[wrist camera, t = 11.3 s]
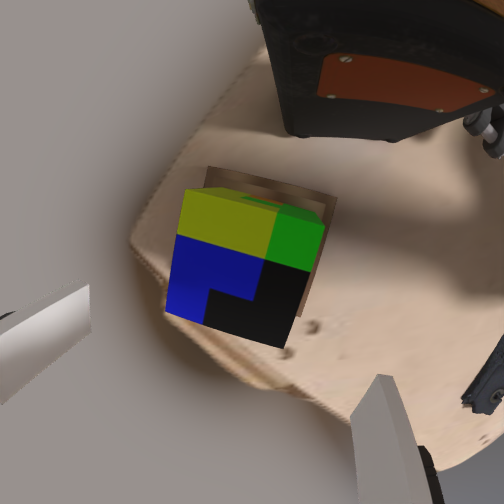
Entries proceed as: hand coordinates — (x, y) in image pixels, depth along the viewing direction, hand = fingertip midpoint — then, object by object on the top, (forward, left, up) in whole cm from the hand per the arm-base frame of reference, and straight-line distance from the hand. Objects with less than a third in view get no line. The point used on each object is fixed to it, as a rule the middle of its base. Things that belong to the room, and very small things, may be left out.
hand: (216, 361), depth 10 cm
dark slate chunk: (-52, +11, -25) cm, 59 cm away
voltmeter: (-5, -18, -24) cm, 31 cm away
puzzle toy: (+1, 0, -20) cm, 20 cm away
